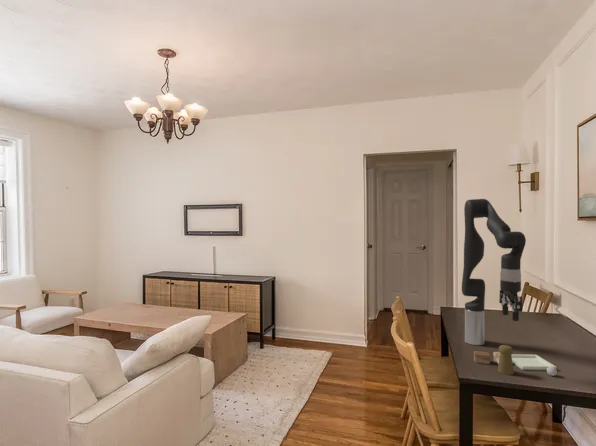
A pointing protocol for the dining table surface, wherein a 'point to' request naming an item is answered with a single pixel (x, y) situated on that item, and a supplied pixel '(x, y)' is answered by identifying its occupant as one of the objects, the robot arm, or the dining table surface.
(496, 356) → the maple block
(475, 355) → the walnut block
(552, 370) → the grey ball
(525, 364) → the tray
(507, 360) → the cork
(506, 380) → the dining table surface
